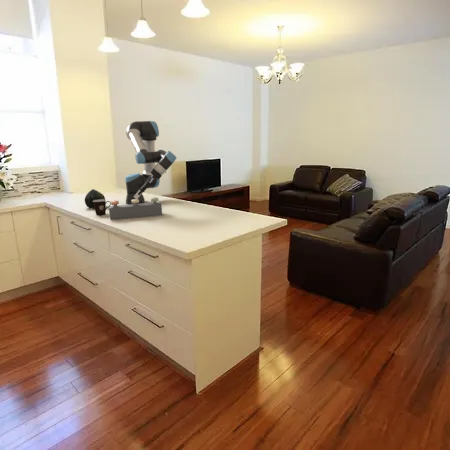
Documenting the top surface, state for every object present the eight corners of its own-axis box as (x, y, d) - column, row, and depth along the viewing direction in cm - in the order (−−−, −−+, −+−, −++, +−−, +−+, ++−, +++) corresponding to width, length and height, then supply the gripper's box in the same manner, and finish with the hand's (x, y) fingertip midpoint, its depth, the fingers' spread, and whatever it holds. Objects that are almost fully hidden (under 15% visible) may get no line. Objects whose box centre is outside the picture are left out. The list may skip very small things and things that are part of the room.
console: (161, 213, 238) (160, 201, 236) (162, 215, 232) (161, 203, 230) (111, 217, 231) (109, 206, 229) (110, 220, 224) (108, 208, 222)
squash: (96, 203, 253) (101, 186, 260) (78, 204, 257) (83, 187, 263) (106, 212, 266) (110, 195, 272) (89, 213, 269) (93, 196, 276)
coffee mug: (93, 216, 237) (91, 202, 235) (95, 213, 245) (93, 199, 243) (110, 214, 239) (109, 200, 237) (112, 212, 248) (110, 198, 245)
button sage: (158, 203, 235) (158, 197, 234) (159, 205, 231) (158, 198, 229) (151, 204, 234) (150, 197, 233) (151, 205, 230) (151, 199, 228)
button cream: (139, 205, 232) (138, 198, 231) (139, 207, 228) (138, 200, 227) (132, 206, 231) (131, 199, 230) (132, 207, 227) (131, 200, 226)
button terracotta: (119, 207, 229) (118, 200, 228) (119, 208, 225) (118, 201, 224) (112, 207, 228) (111, 201, 227) (111, 209, 224) (110, 202, 223)
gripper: (163, 176, 222) (139, 203, 223) (161, 174, 234) (139, 200, 235) (154, 168, 220) (130, 196, 220) (153, 166, 232) (130, 193, 233)
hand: (135, 198), depth 228 cm, fingers closed
